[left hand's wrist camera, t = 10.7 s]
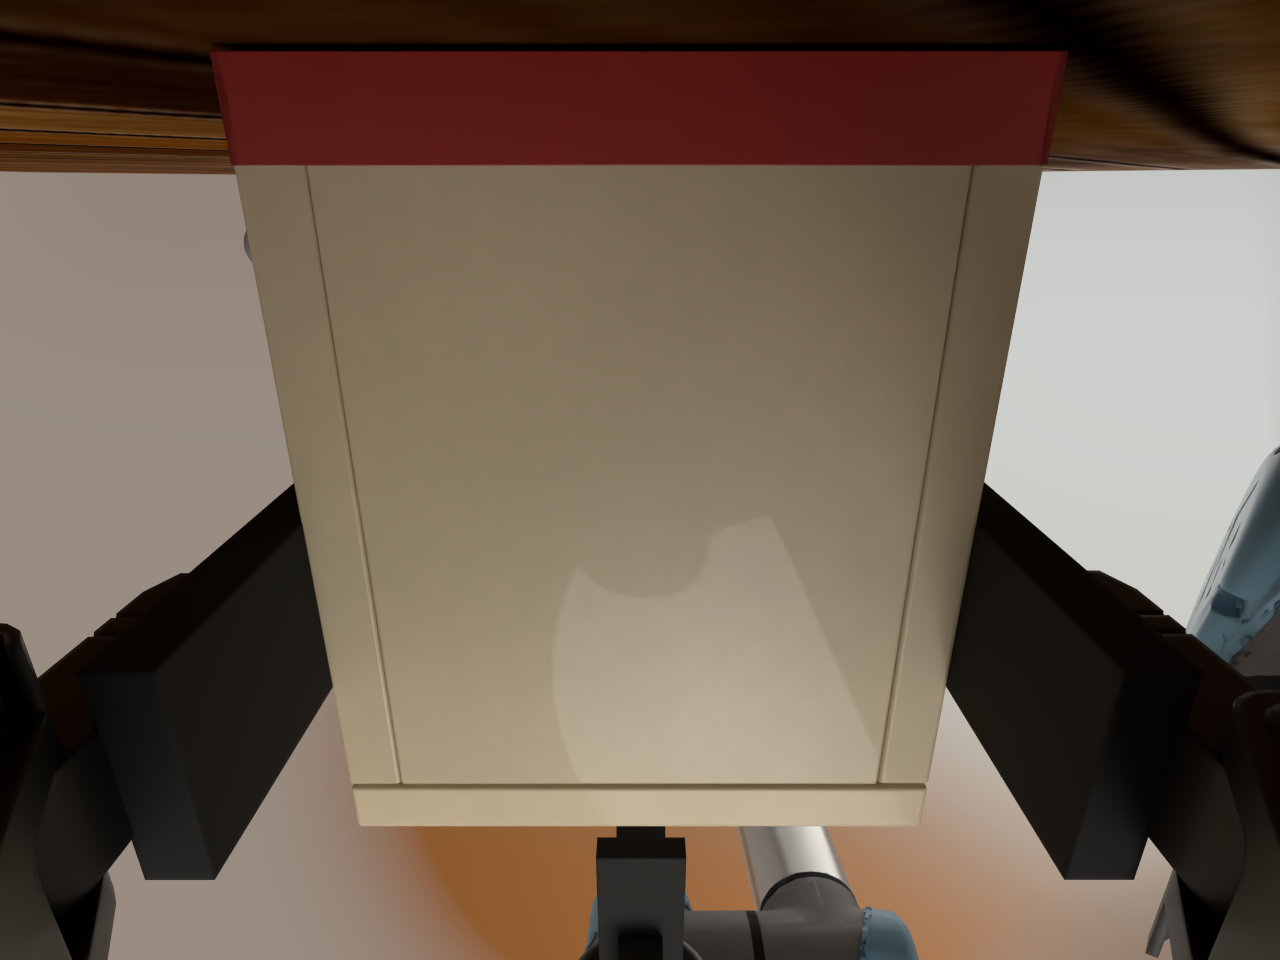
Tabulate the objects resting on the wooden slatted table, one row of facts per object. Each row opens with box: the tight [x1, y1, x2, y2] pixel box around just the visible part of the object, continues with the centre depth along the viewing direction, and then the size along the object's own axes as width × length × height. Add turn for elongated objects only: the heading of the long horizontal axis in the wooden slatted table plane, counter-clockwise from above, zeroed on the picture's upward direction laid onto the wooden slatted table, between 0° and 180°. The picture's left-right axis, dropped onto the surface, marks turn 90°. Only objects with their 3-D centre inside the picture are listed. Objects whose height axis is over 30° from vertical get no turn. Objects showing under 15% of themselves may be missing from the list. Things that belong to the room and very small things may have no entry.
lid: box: [352, 779, 926, 826], centre depth 22 cm, size 18×9×8 cm, turn 0°
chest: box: [210, 51, 1068, 784], centre depth 18 cm, size 17×9×10 cm, turn 0°
